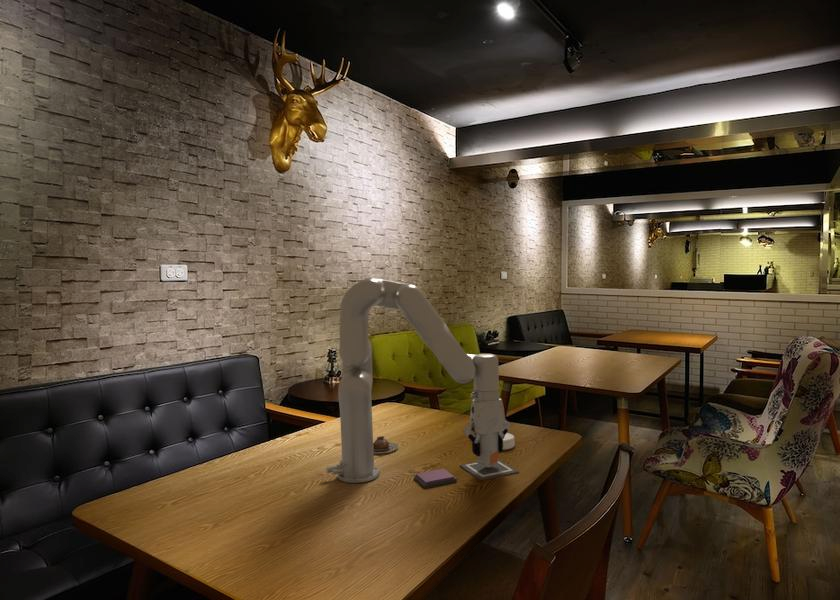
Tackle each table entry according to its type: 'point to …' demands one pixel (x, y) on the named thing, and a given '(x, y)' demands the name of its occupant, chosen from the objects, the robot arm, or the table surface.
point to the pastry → (383, 445)
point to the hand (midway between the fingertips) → (487, 452)
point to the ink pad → (434, 478)
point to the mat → (489, 470)
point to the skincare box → (488, 449)
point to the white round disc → (508, 441)
